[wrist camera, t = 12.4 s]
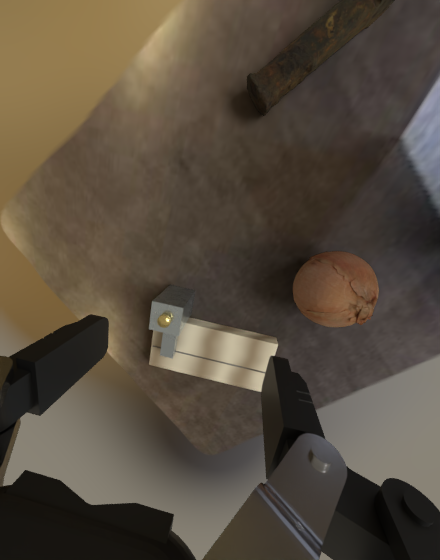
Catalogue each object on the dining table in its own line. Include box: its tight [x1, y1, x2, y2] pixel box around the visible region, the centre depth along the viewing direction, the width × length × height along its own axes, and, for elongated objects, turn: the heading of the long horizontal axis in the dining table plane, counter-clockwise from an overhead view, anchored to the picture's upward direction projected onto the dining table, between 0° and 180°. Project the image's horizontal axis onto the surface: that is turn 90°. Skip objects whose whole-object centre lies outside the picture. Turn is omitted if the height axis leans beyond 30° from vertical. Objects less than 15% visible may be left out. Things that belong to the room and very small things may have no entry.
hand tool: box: [247, 0, 394, 116], centre depth 22 cm, size 19×4×5 cm, turn 122°
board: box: [149, 317, 278, 392], centre depth 34 cm, size 19×9×2 cm, turn 79°
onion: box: [293, 251, 379, 327], centre depth 26 cm, size 10×9×10 cm
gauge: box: [149, 285, 195, 359], centre depth 31 cm, size 4×10×8 cm, turn 169°
